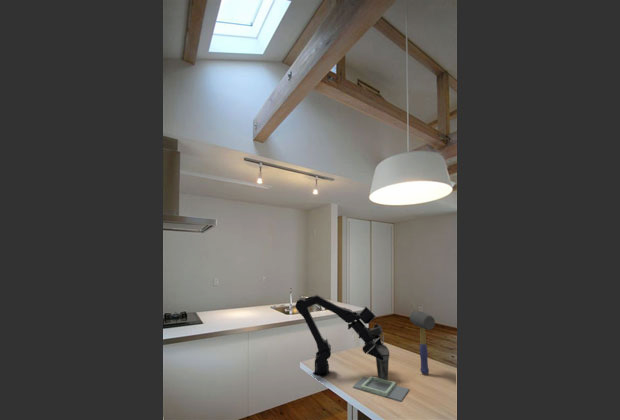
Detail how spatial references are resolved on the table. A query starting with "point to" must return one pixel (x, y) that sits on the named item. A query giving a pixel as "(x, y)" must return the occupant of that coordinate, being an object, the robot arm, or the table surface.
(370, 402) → the table surface
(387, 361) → the beverage cup
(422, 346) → the rubber mallet
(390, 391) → the socket board
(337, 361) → the table surface
